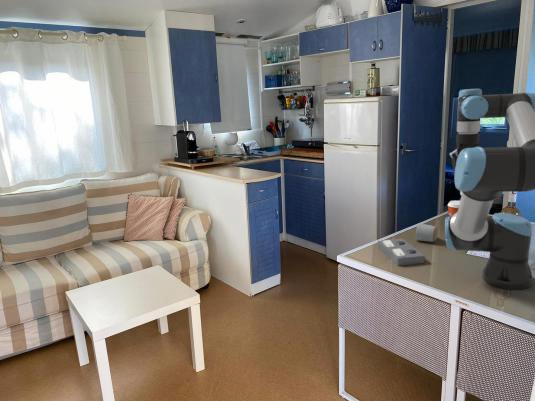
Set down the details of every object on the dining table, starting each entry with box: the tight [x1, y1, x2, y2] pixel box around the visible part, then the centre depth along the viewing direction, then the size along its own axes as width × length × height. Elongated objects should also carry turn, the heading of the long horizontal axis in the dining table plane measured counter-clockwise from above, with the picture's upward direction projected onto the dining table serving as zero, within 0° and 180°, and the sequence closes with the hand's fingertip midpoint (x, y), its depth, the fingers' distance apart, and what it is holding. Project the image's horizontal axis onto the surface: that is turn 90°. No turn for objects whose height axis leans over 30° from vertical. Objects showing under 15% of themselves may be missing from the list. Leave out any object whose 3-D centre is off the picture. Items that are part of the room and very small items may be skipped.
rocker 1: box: [382, 239, 395, 247], centre depth 176 cm, size 5×3×1 cm, turn 8°
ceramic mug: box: [415, 222, 438, 243], centre depth 185 cm, size 11×8×8 cm
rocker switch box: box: [377, 238, 426, 267], centre depth 171 cm, size 20×11×3 cm, turn 7°
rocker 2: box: [393, 248, 405, 256], centre depth 166 cm, size 5×3×1 cm, turn 8°
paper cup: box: [447, 200, 460, 217], centre depth 192 cm, size 8×8×14 cm
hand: (464, 195), depth 157 cm, fingers closed
